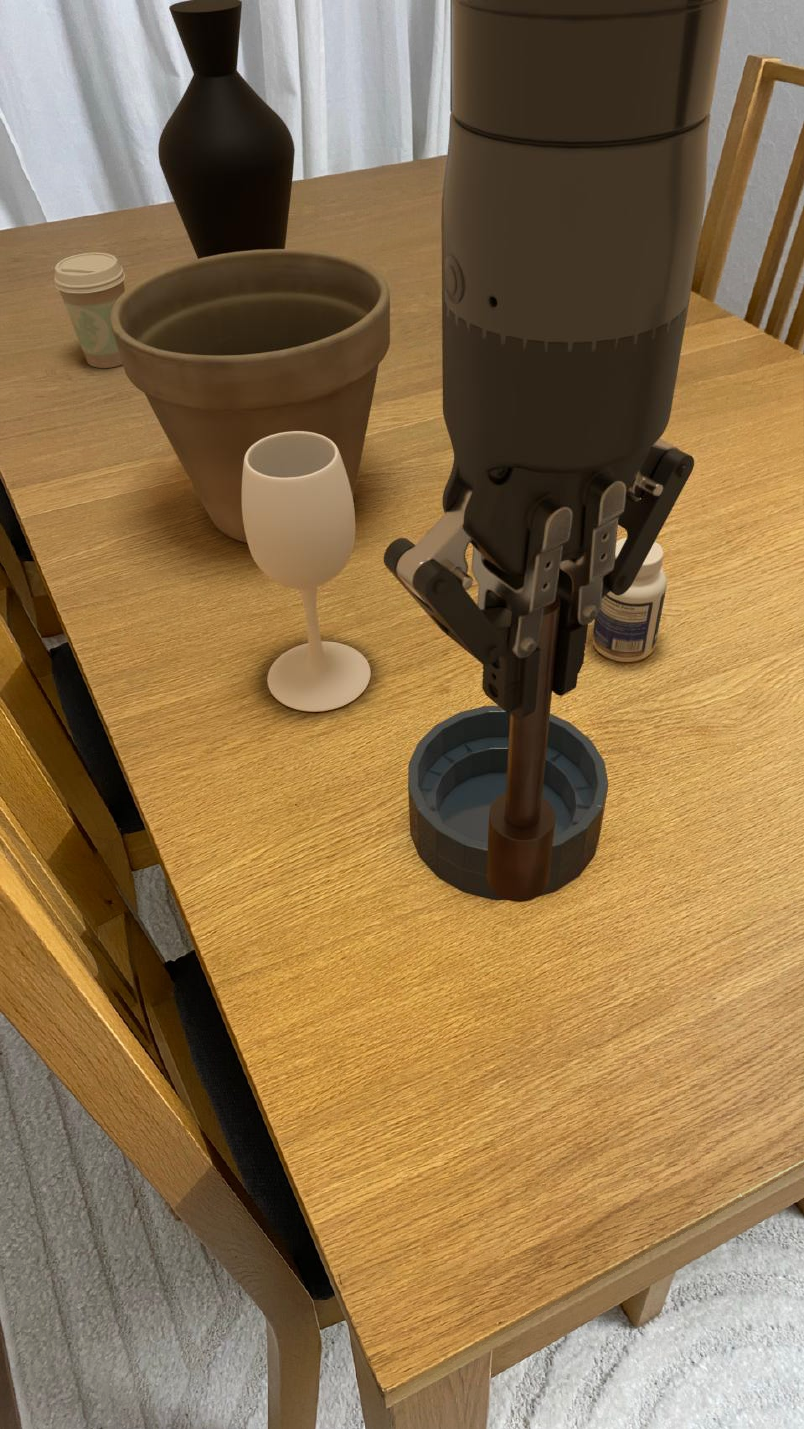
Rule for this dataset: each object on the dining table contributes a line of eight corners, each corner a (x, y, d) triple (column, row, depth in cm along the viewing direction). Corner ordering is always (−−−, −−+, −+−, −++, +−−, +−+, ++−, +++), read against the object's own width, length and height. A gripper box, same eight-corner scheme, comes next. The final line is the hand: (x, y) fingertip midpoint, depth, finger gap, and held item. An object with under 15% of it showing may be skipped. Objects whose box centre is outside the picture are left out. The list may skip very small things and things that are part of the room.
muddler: (561, 881, 51) (597, 605, 39) (514, 913, 50) (535, 638, 37) (520, 842, 53) (542, 566, 40) (473, 872, 52) (480, 597, 39)
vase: (200, 284, 146) (149, -6, 122) (315, 281, 145) (288, -11, 121) (176, 334, 134) (114, 23, 110) (302, 331, 133) (269, 17, 109)
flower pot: (139, 474, 108) (88, 270, 93) (352, 427, 114) (337, 228, 99) (188, 604, 92) (135, 381, 76) (435, 541, 97) (432, 322, 82)
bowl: (638, 844, 70) (649, 788, 66) (489, 942, 65) (492, 887, 61) (515, 736, 78) (519, 679, 74) (374, 815, 73) (369, 759, 69)
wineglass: (390, 666, 84) (378, 443, 70) (329, 727, 79) (301, 501, 65) (310, 631, 88) (282, 412, 73) (246, 687, 83) (202, 465, 68)
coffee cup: (64, 358, 130) (37, 264, 121) (122, 338, 134) (99, 245, 125) (97, 379, 125) (71, 283, 117) (155, 358, 129) (134, 262, 121)
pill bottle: (619, 615, 88) (634, 522, 81) (668, 644, 85) (686, 550, 78) (578, 642, 86) (589, 548, 79) (626, 673, 83) (642, 578, 76)
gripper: (465, 391, 25) (460, 825, 37) (812, 257, 31) (710, 673, 43) (308, 301, 30) (349, 715, 42) (636, 198, 35) (588, 590, 47)
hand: (532, 692), depth 42 cm, fingers closed on muddler
